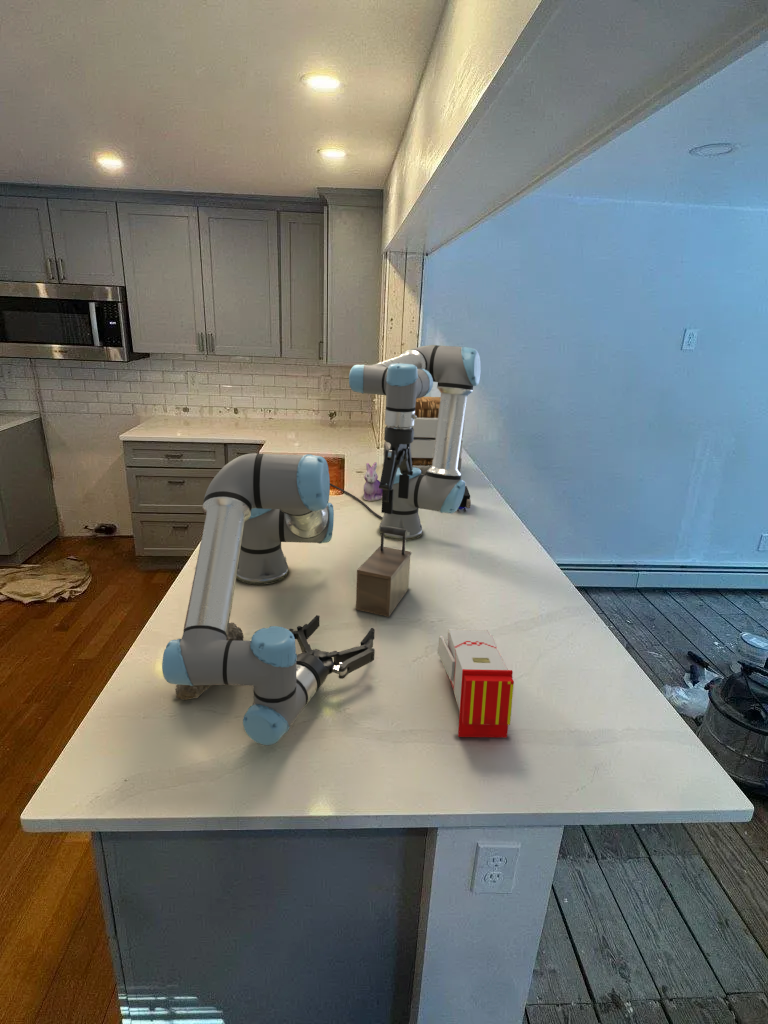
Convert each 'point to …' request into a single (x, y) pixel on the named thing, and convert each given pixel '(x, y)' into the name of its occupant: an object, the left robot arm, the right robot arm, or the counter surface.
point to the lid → (386, 557)
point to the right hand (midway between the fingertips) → (395, 505)
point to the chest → (382, 591)
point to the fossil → (196, 690)
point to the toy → (478, 682)
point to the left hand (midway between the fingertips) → (345, 626)
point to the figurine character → (465, 500)
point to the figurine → (372, 484)
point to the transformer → (425, 432)
